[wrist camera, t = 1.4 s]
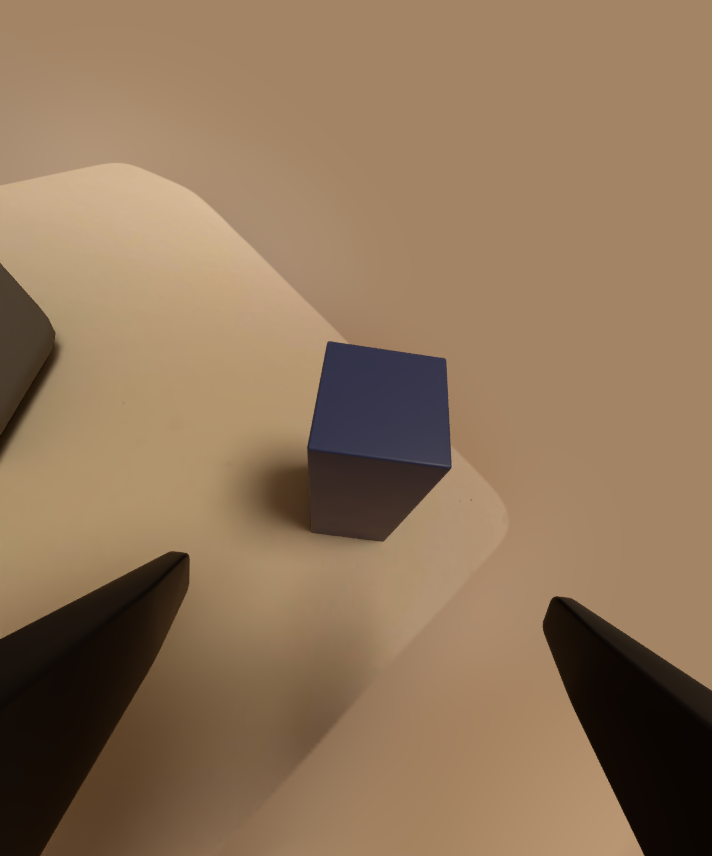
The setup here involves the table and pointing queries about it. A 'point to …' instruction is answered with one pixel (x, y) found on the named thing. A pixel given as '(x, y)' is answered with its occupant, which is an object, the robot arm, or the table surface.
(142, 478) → the table surface
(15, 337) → the alarm clock
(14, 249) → the table surface
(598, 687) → the robot arm
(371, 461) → the navy block
